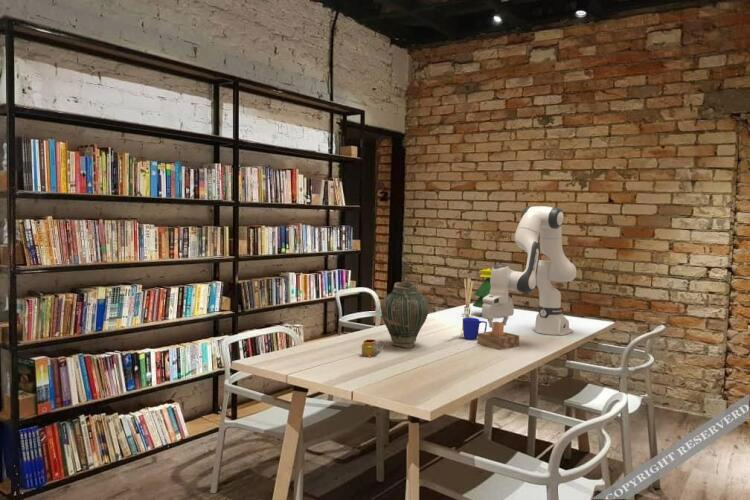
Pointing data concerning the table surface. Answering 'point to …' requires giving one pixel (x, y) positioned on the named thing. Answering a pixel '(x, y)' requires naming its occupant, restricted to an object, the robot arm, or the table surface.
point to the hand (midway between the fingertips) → (497, 326)
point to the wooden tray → (498, 340)
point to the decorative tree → (483, 288)
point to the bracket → (498, 329)
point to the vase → (404, 313)
